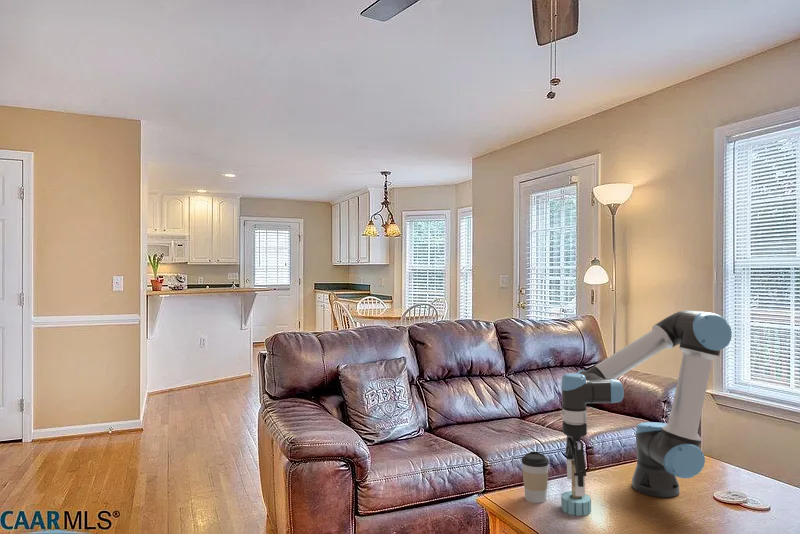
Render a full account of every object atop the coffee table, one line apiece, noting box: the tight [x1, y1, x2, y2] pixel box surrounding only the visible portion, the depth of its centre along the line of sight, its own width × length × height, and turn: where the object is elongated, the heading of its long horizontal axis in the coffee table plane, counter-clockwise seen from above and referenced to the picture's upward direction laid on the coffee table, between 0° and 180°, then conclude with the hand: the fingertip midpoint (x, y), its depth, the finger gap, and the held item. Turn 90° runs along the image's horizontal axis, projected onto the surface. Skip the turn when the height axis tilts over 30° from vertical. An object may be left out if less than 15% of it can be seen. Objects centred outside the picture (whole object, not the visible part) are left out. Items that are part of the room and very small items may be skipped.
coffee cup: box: [521, 451, 550, 504], centre depth 179 cm, size 9×9×15 cm
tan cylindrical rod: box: [571, 459, 580, 500], centre depth 171 cm, size 2×2×16 cm
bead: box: [560, 490, 592, 517], centre depth 171 cm, size 9×9×4 cm
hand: (575, 487), depth 171 cm, fingers open, 13 cm apart
